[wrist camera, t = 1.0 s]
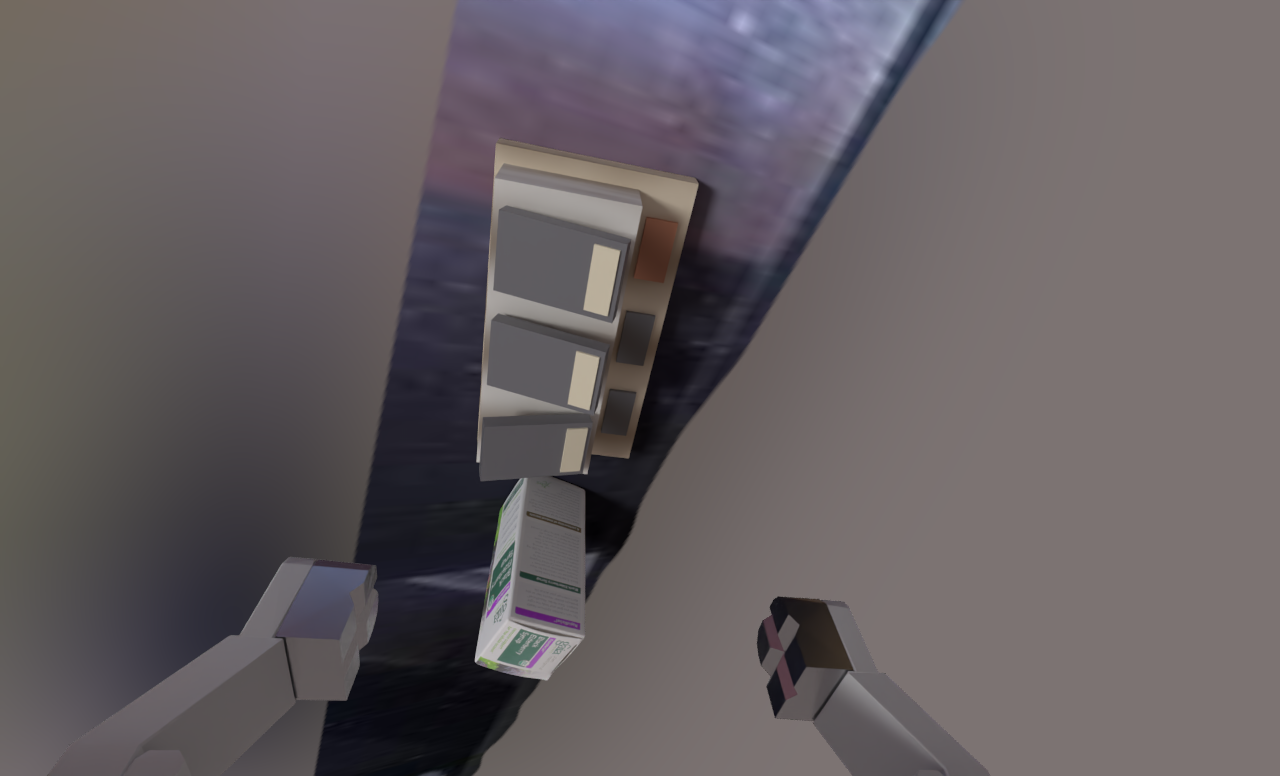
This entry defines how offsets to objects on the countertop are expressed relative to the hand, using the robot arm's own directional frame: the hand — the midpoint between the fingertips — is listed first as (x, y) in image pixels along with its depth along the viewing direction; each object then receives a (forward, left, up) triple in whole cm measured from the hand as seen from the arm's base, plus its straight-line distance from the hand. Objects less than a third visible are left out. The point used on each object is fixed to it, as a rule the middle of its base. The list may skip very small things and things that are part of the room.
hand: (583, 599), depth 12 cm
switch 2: (+15, -1, -22) cm, 27 cm away
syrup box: (+26, 0, -29) cm, 39 cm away
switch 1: (+2, -1, -22) cm, 22 cm away
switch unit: (+8, 0, -29) cm, 30 cm away
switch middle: (+8, -1, -22) cm, 24 cm away
